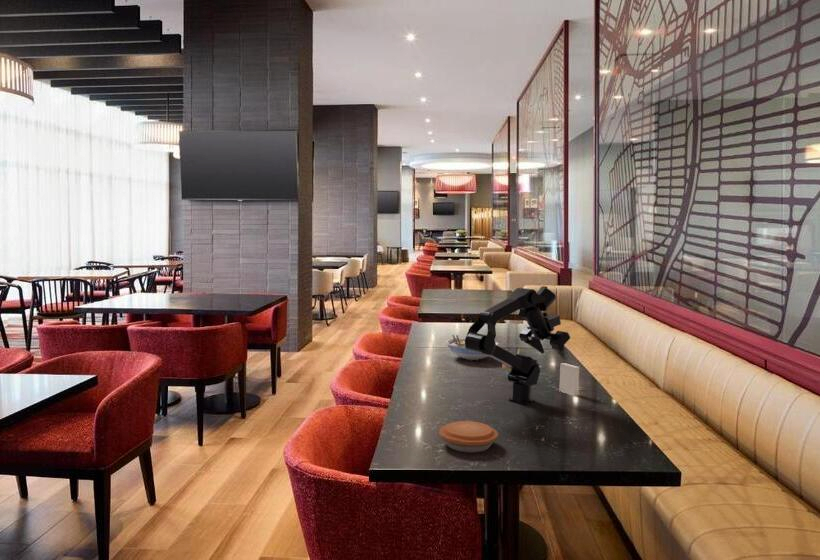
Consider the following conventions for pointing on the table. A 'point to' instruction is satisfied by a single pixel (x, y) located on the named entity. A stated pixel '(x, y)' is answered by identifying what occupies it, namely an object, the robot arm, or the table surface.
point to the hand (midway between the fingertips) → (553, 355)
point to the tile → (569, 379)
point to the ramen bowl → (463, 349)
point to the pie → (468, 436)
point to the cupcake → (507, 368)
